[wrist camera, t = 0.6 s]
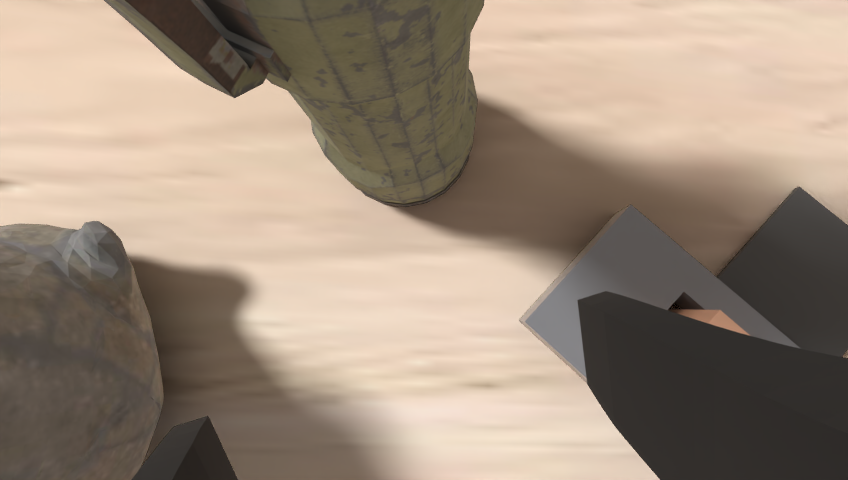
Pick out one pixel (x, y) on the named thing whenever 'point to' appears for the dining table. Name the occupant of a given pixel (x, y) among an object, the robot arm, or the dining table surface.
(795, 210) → the coaster
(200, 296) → the dining table surface
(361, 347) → the dining table surface
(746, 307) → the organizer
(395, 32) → the thermos
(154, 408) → the vessel
